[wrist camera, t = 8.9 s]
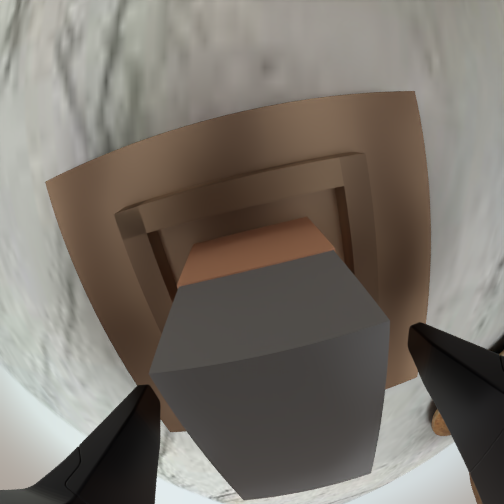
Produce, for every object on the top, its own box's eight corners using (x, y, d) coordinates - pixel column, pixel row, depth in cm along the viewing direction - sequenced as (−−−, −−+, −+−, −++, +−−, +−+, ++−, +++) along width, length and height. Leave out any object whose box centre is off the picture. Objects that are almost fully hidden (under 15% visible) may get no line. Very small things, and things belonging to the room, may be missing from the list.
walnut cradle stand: (387, 97, 12) (430, 88, 8) (401, 353, 17) (424, 389, 14) (72, 174, 12) (29, 186, 9) (175, 404, 18) (167, 446, 15)
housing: (327, 353, 14) (372, 473, 7) (238, 373, 14) (242, 500, 7) (306, 216, 11) (392, 317, 5) (193, 244, 11) (145, 372, 5)
